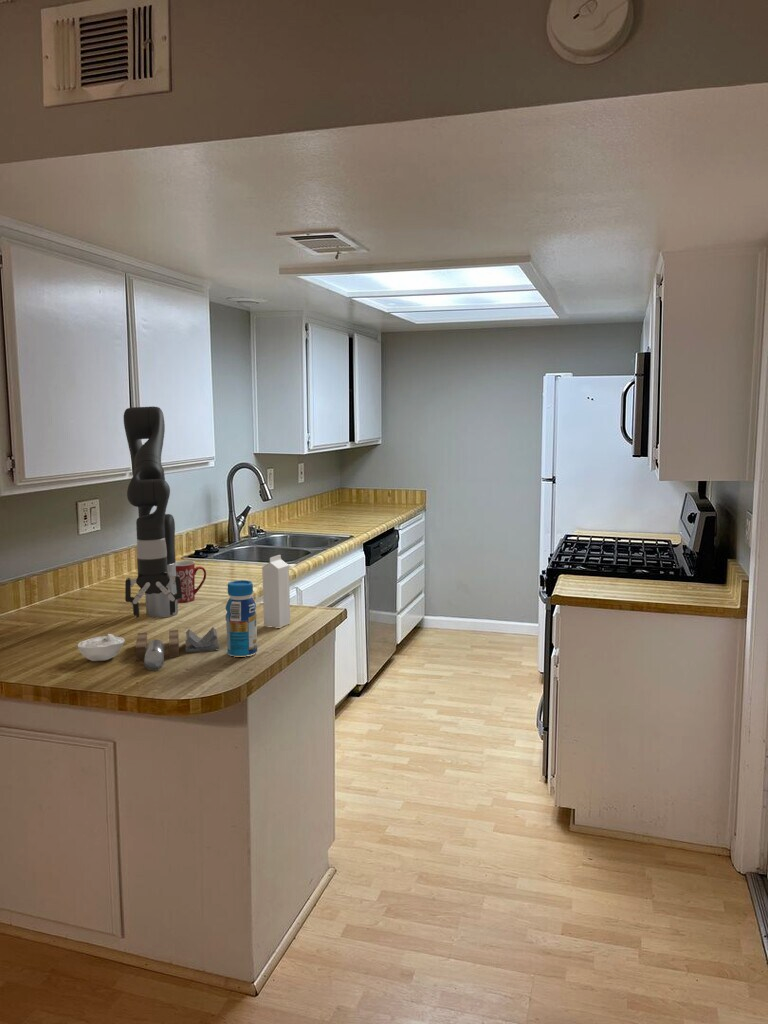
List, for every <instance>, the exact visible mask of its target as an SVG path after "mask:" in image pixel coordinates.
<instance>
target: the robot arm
mask: <svg viewBox="0 0 768 1024" xmlns="http://www.w3.org/2000/svg"><path fill="white" fill-rule="evenodd" d="M123 426H124V431H125V432H124V433H125V437H126V440H127V445H128V449H129V454H130V461H131V473H132V478H130V481H129V483H128V486H127V491H126V497H127V500H128V502H129V504H130V505H132V506H133V507H137V509H138V510H137V511H138V518H137V519H136V521H135V523H136V524H135V525H136V529H135V530H136V562H137V563H136V565H137V566H136V567H137V577H136V578H130V577H127V578H126V579H125V583H124V584H125V585H124V586H125V588H124V589H125V592H124V597H125V598H124V599H125V602H126V603H131V604H132V611H133V615H134V616H135V617H136V618H137V619H138V618H140V603H139V601H140V600H141V599H142V597H143V596H144V595H145V596H144V598H145V615H146V616H149V617H151V618H169V617H173V616H176V615H177V614H179V606H178V602H177V599H180V598H182V591H181V582H180V576H179V575H176V561H177V559H176V547H175V546H176V544H175V543H176V542H175V541H176V539H175V538H176V535H175V534H176V523H175V522H176V521H175V517H174V516H173V514H169V513H166V511H167V507H168V503H169V499H170V496H171V489H170V488H171V487H170V485H169V483H168V482H167V480H166V478H165V470H164V467H163V466H162V452H163V447H164V438H165V427H166V426H165V418H164V413H163V410H162V409H161V408H160V407H159V406H135V407H133V406H132V407H128V408H126V409H125V410H124V412H123ZM141 440H146V442H144V443H142V441H141ZM154 507H156V509H155V510H154V512H151V511H152V510H153V508H154ZM135 584H137V586H138V587H139V588H140V589H139V590H138V592H137V593H136V594H135V596H131V594H132V591H131V588H133V587H134V586H135Z"/></svg>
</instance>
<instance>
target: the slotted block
mask: <svg viewBox="0 0 768 1024" xmlns="http://www.w3.org/2000/svg"><path fill="white" fill-rule="evenodd" d="M179 637H180V636H179V629H173V630H169V632H168V654H169V656H168V657H169V658H175V657H176V658H177V657H180V642H179V641H180V639H179ZM135 642H136V643H135V648H134V649H135V661H142V660H143V661H144V659H145V652H146V646H147V644H148V632H138V633H137V637H136V641H135Z"/></svg>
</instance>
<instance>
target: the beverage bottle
mask: <svg viewBox="0 0 768 1024" xmlns="http://www.w3.org/2000/svg"><path fill="white" fill-rule="evenodd" d="M253 585H254V584H253V582H252V581H250V580H242V579H241V580H233V581H229V582H228V584H227V594H228V596H229V598H228V601H227V602H226V603H225V610H226V613H225V614H226V615H225V621H226V642H227V643H226V644H227V645H226V646H227V649H226V650H227V655H228V656H229V655H230V656H229V657H231V656H247V655H251V654H254V653H256V652H257V653H258V630H257V629H258V628H257V627H258V625H257V620H258V619H257V618H258V613H257V611H256V609H257V604H256V602H255V599H254V598H253V597H252V595H253V594H254V586H253ZM257 653H256V654H257Z"/></svg>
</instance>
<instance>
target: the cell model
mask: <svg viewBox="0 0 768 1024" xmlns="http://www.w3.org/2000/svg"><path fill="white" fill-rule="evenodd" d="M125 641H126V639H124V638H123V637H121V636H116V635H114V634H112V633H107V635H102V636H101V635H100V636H94V637H92V638H88V639H86V640H82V641H79V643H78V644H77V648H78V650H79V652H80V654H81V655H82V657H84V658H86V660H87V659H88V660H89V661H91V662H104V661H108V660H110V659H113V658H114V657H116V656H118V654H119V652H120V651H121V649H122V647H123V645H124V643H125Z"/></svg>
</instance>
